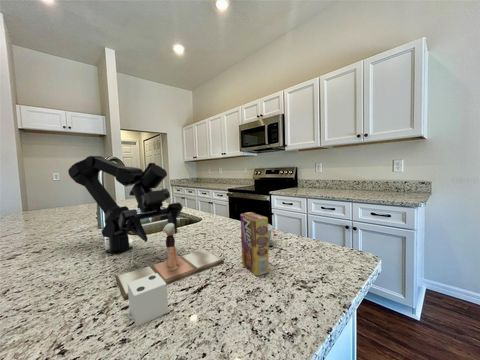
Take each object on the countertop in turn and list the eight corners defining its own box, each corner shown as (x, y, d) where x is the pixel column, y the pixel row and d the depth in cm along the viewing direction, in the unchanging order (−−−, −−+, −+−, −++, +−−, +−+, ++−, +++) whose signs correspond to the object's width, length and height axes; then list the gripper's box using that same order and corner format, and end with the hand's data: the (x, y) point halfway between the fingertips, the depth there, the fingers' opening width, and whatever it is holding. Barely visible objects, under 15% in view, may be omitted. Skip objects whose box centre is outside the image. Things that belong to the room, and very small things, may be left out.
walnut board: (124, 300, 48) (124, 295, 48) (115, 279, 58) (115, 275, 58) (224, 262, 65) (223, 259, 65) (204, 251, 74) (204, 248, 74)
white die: (136, 326, 40) (133, 295, 39) (129, 310, 44) (127, 282, 44) (168, 312, 43) (166, 283, 43) (158, 298, 48) (157, 272, 48)
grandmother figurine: (183, 269, 59) (181, 224, 59) (169, 274, 57) (166, 227, 56) (174, 260, 66) (171, 219, 65) (161, 264, 63) (158, 222, 63)
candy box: (270, 272, 58) (268, 217, 57) (256, 277, 56) (254, 219, 55) (254, 260, 66) (252, 211, 65) (241, 263, 64) (239, 213, 63)
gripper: (118, 183, 60) (135, 229, 53) (178, 179, 74) (198, 215, 67) (112, 207, 67) (126, 251, 59) (169, 199, 80) (186, 234, 73)
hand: (162, 236), depth 64 cm, fingers open, 9 cm apart
